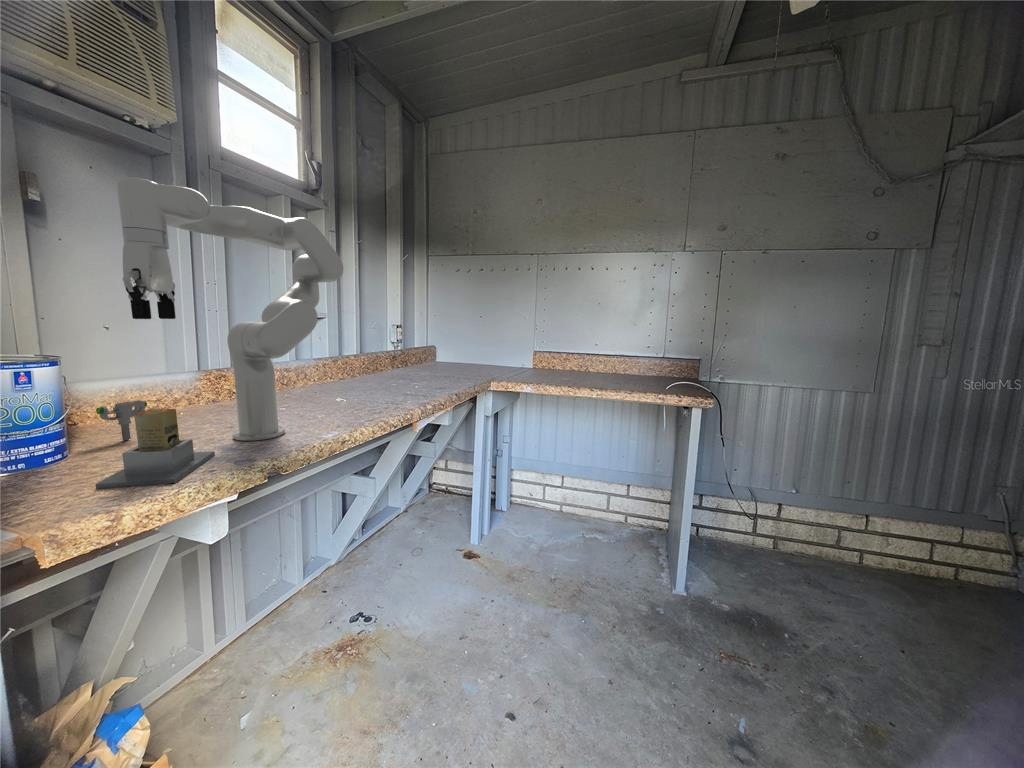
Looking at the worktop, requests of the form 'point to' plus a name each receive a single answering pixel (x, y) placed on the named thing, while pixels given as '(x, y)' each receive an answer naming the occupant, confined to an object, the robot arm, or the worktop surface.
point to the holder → (156, 466)
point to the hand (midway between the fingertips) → (155, 318)
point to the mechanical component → (123, 414)
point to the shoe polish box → (157, 429)
